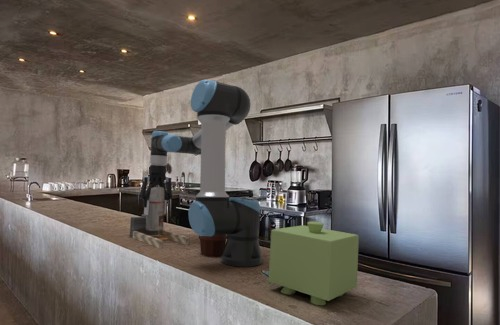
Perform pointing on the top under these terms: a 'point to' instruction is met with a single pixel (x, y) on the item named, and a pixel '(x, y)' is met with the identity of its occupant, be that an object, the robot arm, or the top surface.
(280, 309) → the top surface
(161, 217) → the grey cylinder
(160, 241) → the track
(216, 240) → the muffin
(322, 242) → the container
